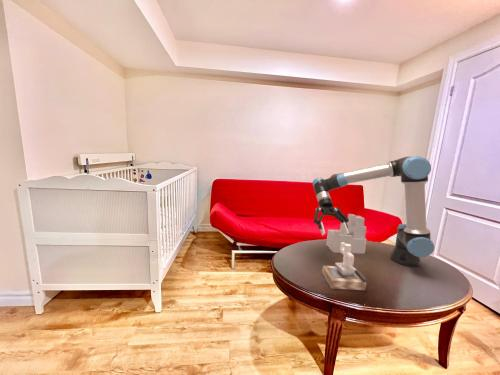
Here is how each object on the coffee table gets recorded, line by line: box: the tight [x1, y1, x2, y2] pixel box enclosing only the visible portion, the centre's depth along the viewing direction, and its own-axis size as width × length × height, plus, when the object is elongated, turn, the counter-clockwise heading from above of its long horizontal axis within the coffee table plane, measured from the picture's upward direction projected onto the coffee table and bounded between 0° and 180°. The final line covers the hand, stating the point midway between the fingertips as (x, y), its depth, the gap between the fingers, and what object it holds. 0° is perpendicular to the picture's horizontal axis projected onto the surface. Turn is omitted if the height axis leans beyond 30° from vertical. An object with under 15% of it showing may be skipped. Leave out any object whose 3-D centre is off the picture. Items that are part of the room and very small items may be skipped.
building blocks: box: [325, 213, 368, 254], centre depth 147 cm, size 22×12×25 cm, turn 92°
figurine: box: [334, 242, 358, 275], centre depth 107 cm, size 7×9×15 cm
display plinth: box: [321, 264, 368, 291], centre depth 109 cm, size 16×14×6 cm
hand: (335, 234), depth 116 cm, fingers open, 13 cm apart
